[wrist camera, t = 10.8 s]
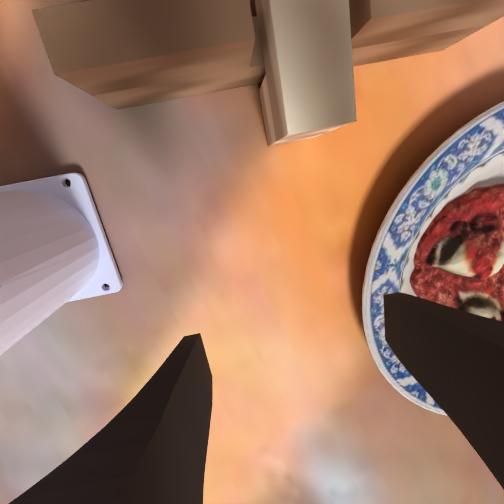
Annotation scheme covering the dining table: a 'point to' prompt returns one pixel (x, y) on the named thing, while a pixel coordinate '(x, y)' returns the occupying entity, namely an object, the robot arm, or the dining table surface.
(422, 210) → the ceramic plate
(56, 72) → the walnut slotted plate
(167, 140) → the dining table surface
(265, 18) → the birch slotted plate
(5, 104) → the dining table surface
